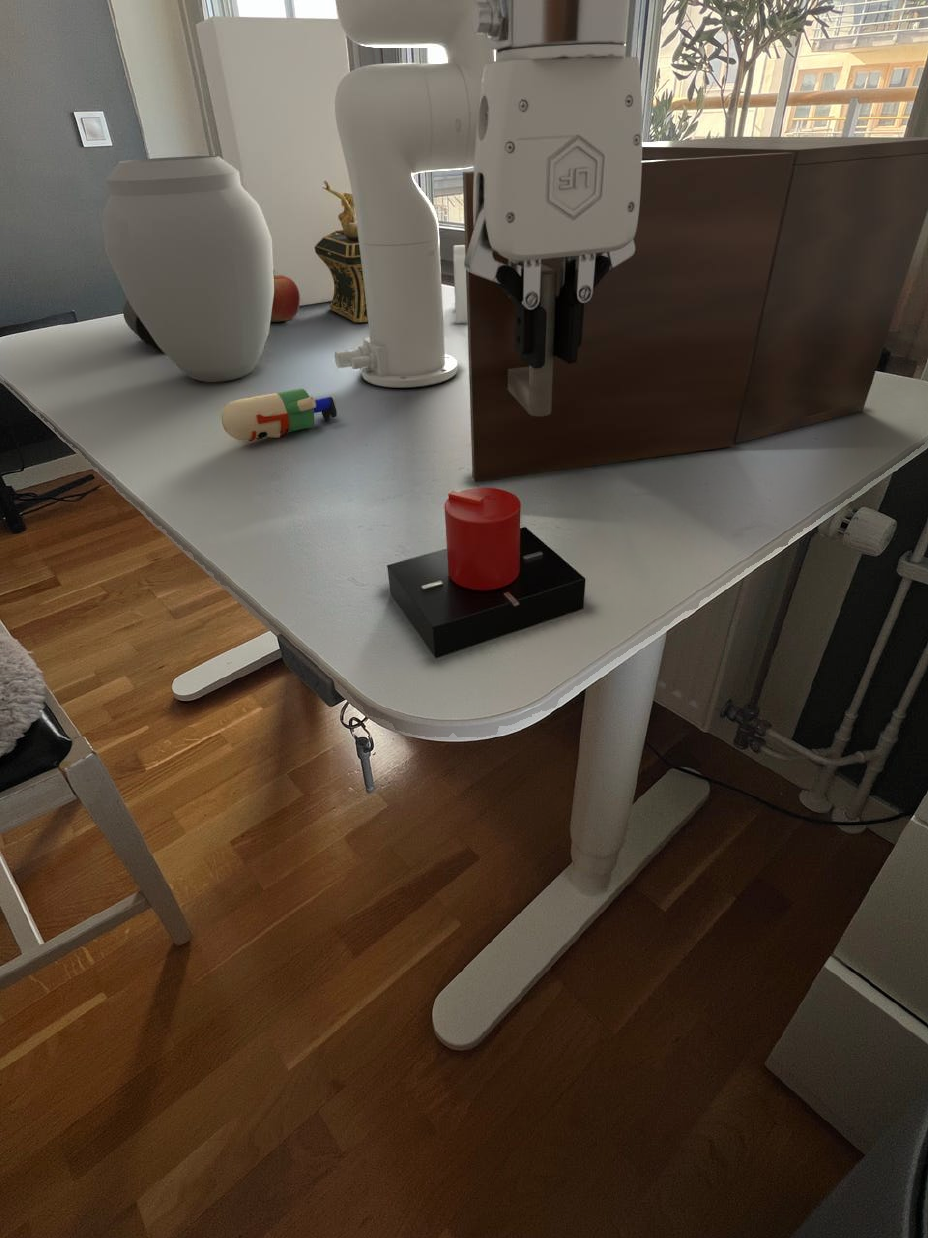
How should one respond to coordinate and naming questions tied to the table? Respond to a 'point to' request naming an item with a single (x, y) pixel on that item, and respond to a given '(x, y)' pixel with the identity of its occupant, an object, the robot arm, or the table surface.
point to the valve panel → (484, 597)
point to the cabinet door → (635, 329)
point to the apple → (284, 299)
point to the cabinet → (826, 270)
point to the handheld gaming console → (460, 284)
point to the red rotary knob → (483, 537)
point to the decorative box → (345, 263)
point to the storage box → (283, 130)
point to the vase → (192, 261)
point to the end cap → (138, 326)
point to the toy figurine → (274, 414)
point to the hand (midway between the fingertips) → (547, 358)
